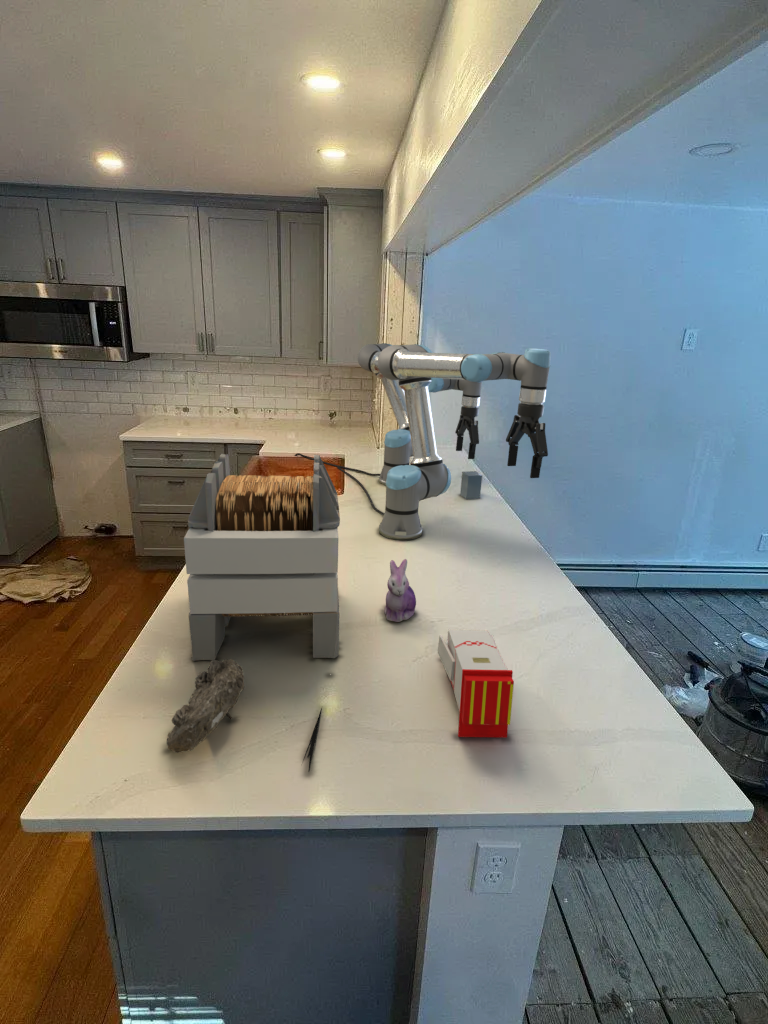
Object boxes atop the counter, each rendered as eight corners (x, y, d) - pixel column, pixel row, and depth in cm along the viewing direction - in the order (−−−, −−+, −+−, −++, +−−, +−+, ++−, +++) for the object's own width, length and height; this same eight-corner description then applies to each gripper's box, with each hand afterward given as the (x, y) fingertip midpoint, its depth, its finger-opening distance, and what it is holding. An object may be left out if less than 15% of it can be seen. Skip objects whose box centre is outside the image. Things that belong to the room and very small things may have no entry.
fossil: (192, 660, 117) (244, 628, 112) (224, 691, 120) (276, 661, 115) (142, 746, 98) (202, 712, 93) (182, 779, 101) (242, 748, 96)
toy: (488, 613, 130) (523, 677, 101) (484, 667, 133) (517, 744, 104) (435, 612, 130) (455, 676, 101) (432, 666, 133) (451, 743, 103)
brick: (479, 498, 242) (482, 475, 238) (466, 499, 240) (468, 475, 236) (473, 494, 247) (475, 471, 244) (459, 494, 245) (462, 471, 242)
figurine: (392, 627, 141) (395, 572, 136) (374, 608, 149) (376, 556, 144) (425, 619, 145) (429, 566, 140) (405, 601, 154) (408, 550, 149)
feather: (331, 679, 122) (336, 673, 122) (307, 777, 96) (313, 769, 95) (324, 675, 122) (329, 669, 121) (298, 772, 95) (304, 764, 95)
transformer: (215, 589, 155) (206, 444, 141) (335, 588, 159) (337, 446, 145) (189, 663, 124) (173, 484, 110) (339, 659, 127) (342, 486, 113)
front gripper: (567, 410, 159) (556, 482, 166) (520, 396, 181) (512, 460, 188) (544, 410, 156) (533, 483, 164) (499, 396, 179) (492, 461, 186)
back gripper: (491, 412, 231) (484, 462, 239) (466, 401, 254) (461, 447, 261) (474, 412, 229) (468, 462, 237) (451, 401, 252) (446, 447, 259)
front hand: (522, 471), depth 176 cm, fingers open, 13 cm apart
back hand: (464, 454), depth 249 cm, fingers open, 13 cm apart
